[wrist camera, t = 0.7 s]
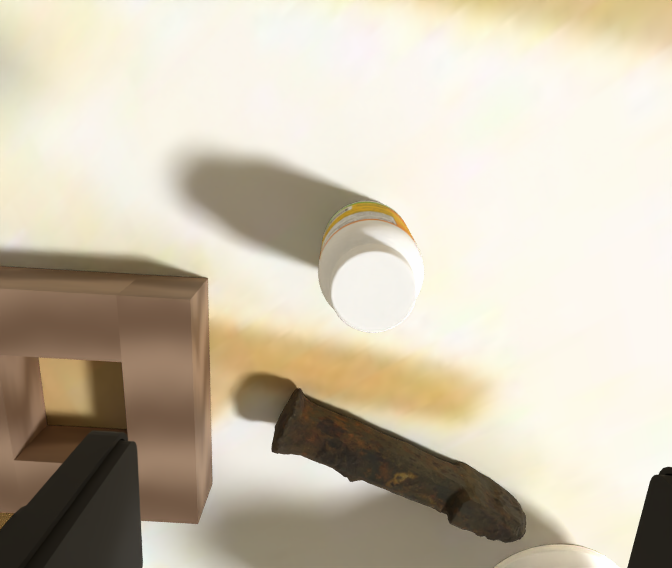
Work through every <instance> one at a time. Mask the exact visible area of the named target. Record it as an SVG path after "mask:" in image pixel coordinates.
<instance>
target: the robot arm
mask: <svg viewBox="0 0 672 568" xmlns="http://www.w3.org/2000/svg"><path fill="white" fill-rule="evenodd" d="M142 565H143V558H142V537H141V516H140V495H139V474H138V454H137V445H136V442H134V441H128V437H127V435H126V434H125V433H124V432H111V431H95V430H94V431H91V432H90V433H88V434H87V436H86V437H85V438H84V439H83V440H82V441H81V442H80V444H79V445H78V446H77V447H76V448H75V449H74V451H73V452H72V453H71V454H70V455H69V456H68V458H67V459H66V460H65V461H64V462H63V463H62V465H61V466H60V467H59V468H58V469H57V470H56V471H55V473H54V474H53V475H52V476H51V477H50V478H49V480H48V481H47V482H46V483H45V484H44V485H43V487H42V488H41V489H40V490H39V491H38V492H37V494H36V495H35V496H34V497H33V498H32V499H31V501H30V502H29V503H28V504H27V505H26V506H23V507H21V508H20V509H19V510H18V511H17V512H16V513H14V514H13V516H12V517H11V518H10V519H9V520H8V521H7V522H6V524H5V525H4V526H3V527H2V528H1V529H0V568H142ZM627 568H672V467H666V468H663V469H662V470H661V471H660V473H659V475H654V476H653V477H652V478H651V481H650V484H649V487H648V491H647V495H646V499H645V503H644V506H643V510H642V514H641V518H640V522H639V525H638V529H637V533H636V537H635V541H634V545H633V548H632V552H631V556H630V560H629V564H628V567H627Z"/></svg>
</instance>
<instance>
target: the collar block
mask: <svg viewBox="0 0 672 568" xmlns="http://www.w3.org/2000/svg"><path fill="white" fill-rule="evenodd" d="M38 357H42V358H59V359H76V360H94V361H111V362H122V372H123V384H124V396H125V409H126V421H127V429H109V428H92V427H75V426H57V425H47V419H46V412H45V404H44V397H43V390H42V382H41V375H40V368H39V360H38ZM94 430H95V431H111V432H124V433H125V434H126V435H127V437H128V441H134V442H136V445H137V454H138V474H139V495H140V516H141V521H156V522H173V523H191V524H198V523H199V520H200V517H201V514H202V511H203V508H204V506H205V503H206V500H207V497H208V494H209V492H210V489H211V486H212V444H211V399H210V355H209V310H208V278H193V277H175V276H158V275H141V274H124V273H107V272H90V271H73V270H55V269H38V268H21V267H4V266H0V513H16V512H17V511H18V510H19V509H20V508H21V507H23V506H26V505H27V504H28V503H29V502H30V501H31V499H32V498H33V497H34V496H35V495H36V494H37V492H38V491H39V490H40V489H41V488H42V487H43V485H44V484H45V483H46V482H47V481H48V480H49V478H50V477H51V476H52V475H53V474H54V473H55V471H56V470H57V469H58V468H59V467H60V466H61V465H62V463H63V462H64V461H65V460H66V459H67V458H68V456H69V455H70V454H71V453H72V452H73V451H74V449H75V448H76V447H77V446H78V445H79V444H80V442H81V441H82V440H83V439H84V438H85V437H86V436H87V434H88V433H90V432H91V431H94Z"/></svg>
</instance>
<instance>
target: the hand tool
mask: <svg viewBox="0 0 672 568" xmlns="http://www.w3.org/2000/svg"><path fill="white" fill-rule="evenodd" d="M272 452H274V453H277V454H278V453H280V454H294V455H301V456H303V457H306V458H308V459H310V460H313V461H316V462H318V463H321V464H324V465H327V466H329V467H331V468H333V469H334V470H336V471H337V472H339V473H340V474H341V475H343V476H344V477H347V478H348V479H349V481H350V482H354V481H358V480H363V481H365V482H367V483H370V484H373V485H375V486H378V487H380V488H383V489H386V490H388V491H390V492H392V493H395V494H398V495H400V496H403V497H405V498H408V499H410V500H413V501H416V502H418V503H421V504H424V505H427V506H429V507H432V508H434V509H436V510H437V511H439V512H442V513H445V514H447V516H448V520H449V523H450V524H452V525H454V526H456V527H459V528H461V529H464V530H469V531H472V532H474V533H475V534H476V535H477V536H486V538H487V539H490V540H500V541H502V542H505V543H507V542H513V541H516V540H518V539H521V538H522V537H523V535H524V534H525V531H526V530H525V528H526V515H525V513H524V512H523V510H522V508H521V506H520V504H519V503H518V502H517V500H516V499H515V498H514V497H513V496H512V495H511V494H510V493H509V492H508V491H506V490H505V489H503V488H502V487H501V486H500V485H498V484H497V483H495V482H494V481H493V480H491V479H490V478H488V477H485V476H484V475H482V474H481V473H479V472H478V471H476V470H475V469H473V468H472V467H470V466H469V465H467V464H464V463H462V462H458V463H456V464H454V465H453V464H451V463H449V462H446V461H443V460H441V459H439V458H437V457H435V456H433V455H431V454H428V453H426V452H424V451H422V450H420V449H418V448H416V447H414V446H413V445H411V444H409V443H407V442H404V441H401V440H397V439H395V438H392V437H390V436H388V435H386V434H384V433H381V432H379V431H377V430H375V429H373V428H371V427H369V426H367V425H365V424H362V423H361V422H359V421H357V420H355V419H351V418H347V417H345V416H343V415H340V414H338V413H336V412H333V411H330V410H328V409H325V408H323V407H320V406H318V405H316V404H314V403H312V402H310V401H309V400H308V399H307V398H306V397H305V396H304V394H303V392H302V390H301V389H300V388H299V389H296V390H295V391H294V393H293V394H292V396H291V398H290V399H289V401H288V403H287V404H286V406H285V408H284V410H283V411H282V413H281V415H280V417H279V419H278V421H277V424H276V425H275V432H274V437H273V442H272Z"/></svg>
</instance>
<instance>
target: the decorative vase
mask: <svg viewBox="0 0 672 568" xmlns="http://www.w3.org/2000/svg"><path fill="white" fill-rule="evenodd" d="M494 568H619V567H618V566H617V565H616V564H615V563H614V562H613V561H612V560H610V559H609V558H608V557H606V556H604V555H603V554H601V553H599V552H597V551H594V550H592V549H589V548H585V547H581V546H576V545H567V544H552V545H543V546H538V547H534V548H530V549H527V550H524V551H521V552H518V553H516V554H514V555H512V556H510V557H508V558H506V559H505V560H503V561H502V562H500V563H499V564H498V565H496V566H495V567H494Z"/></svg>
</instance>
